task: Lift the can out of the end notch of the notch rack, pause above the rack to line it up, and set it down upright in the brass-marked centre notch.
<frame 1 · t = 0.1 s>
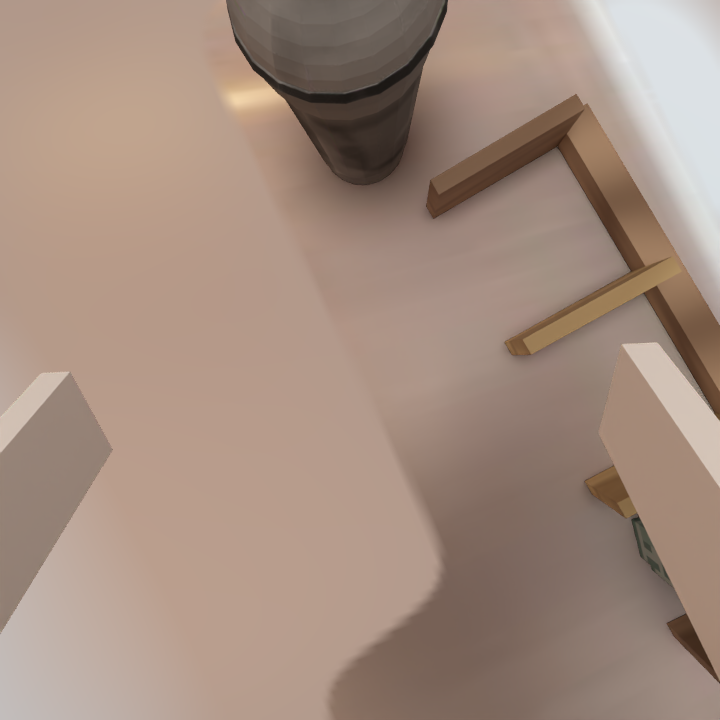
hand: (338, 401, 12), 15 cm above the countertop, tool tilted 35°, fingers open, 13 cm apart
beverage cup: (363, 145, 28), on the countertop
notch rack: (611, 383, 26), on the countertop
can: (692, 524, 26), on the countertop
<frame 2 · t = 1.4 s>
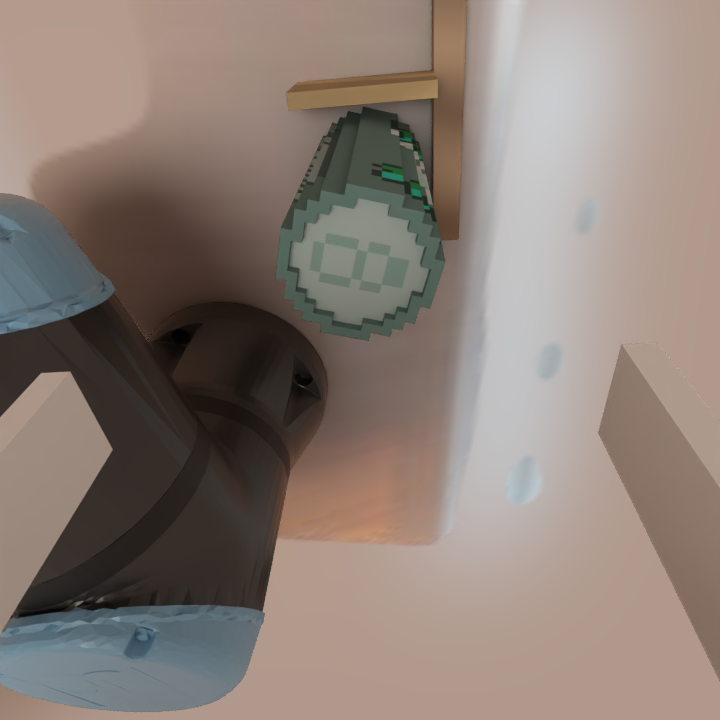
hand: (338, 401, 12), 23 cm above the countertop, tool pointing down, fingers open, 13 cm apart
can: (369, 162, 31), on the countertop
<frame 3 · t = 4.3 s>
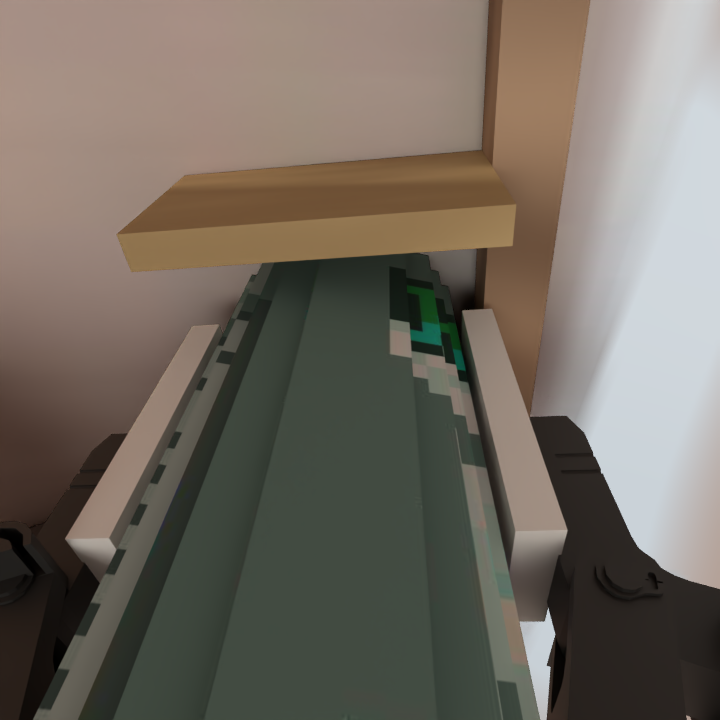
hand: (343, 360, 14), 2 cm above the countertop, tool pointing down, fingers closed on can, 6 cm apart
can: (348, 319, 15), on the countertop, touching gripper
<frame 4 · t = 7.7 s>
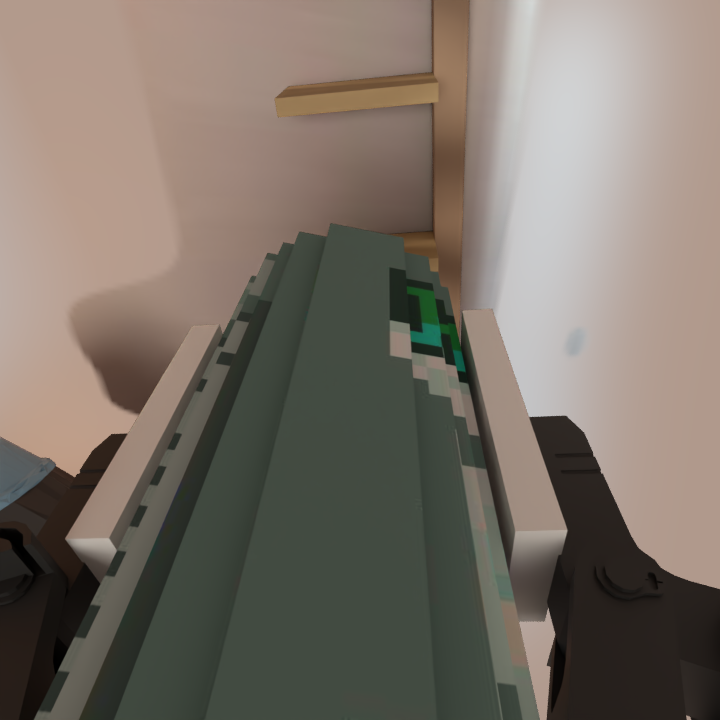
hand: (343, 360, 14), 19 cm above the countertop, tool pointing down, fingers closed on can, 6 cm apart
notch rack: (366, 171, 29), on the countertop
can: (348, 319, 15), point 17 cm above the countertop, touching gripper
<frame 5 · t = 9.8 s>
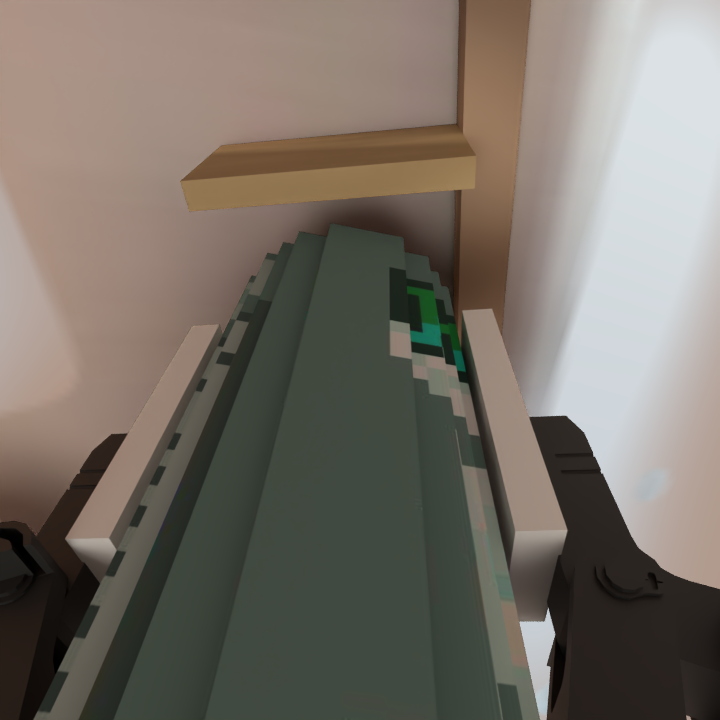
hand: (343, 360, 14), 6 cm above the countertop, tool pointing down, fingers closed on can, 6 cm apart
notch rack: (351, 269, 19), on the countertop
can: (348, 319, 15), point 4 cm above the countertop, touching gripper
when the fingers open (3 cm above the countertop, at t = 11.3 s): can stays where it is, on the countertop.
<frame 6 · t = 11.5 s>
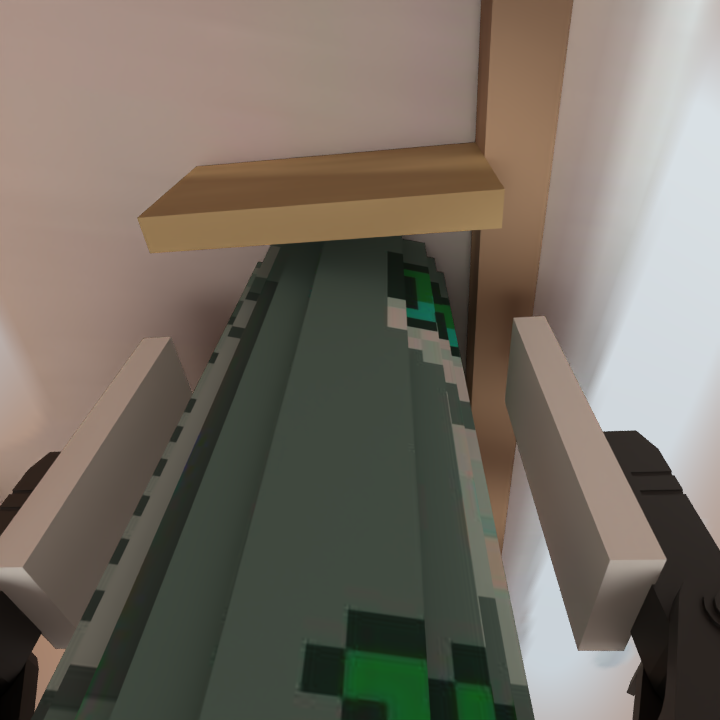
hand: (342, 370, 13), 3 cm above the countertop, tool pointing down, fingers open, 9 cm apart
notch rack: (350, 306, 16), on the countertop
can: (349, 304, 16), on the countertop
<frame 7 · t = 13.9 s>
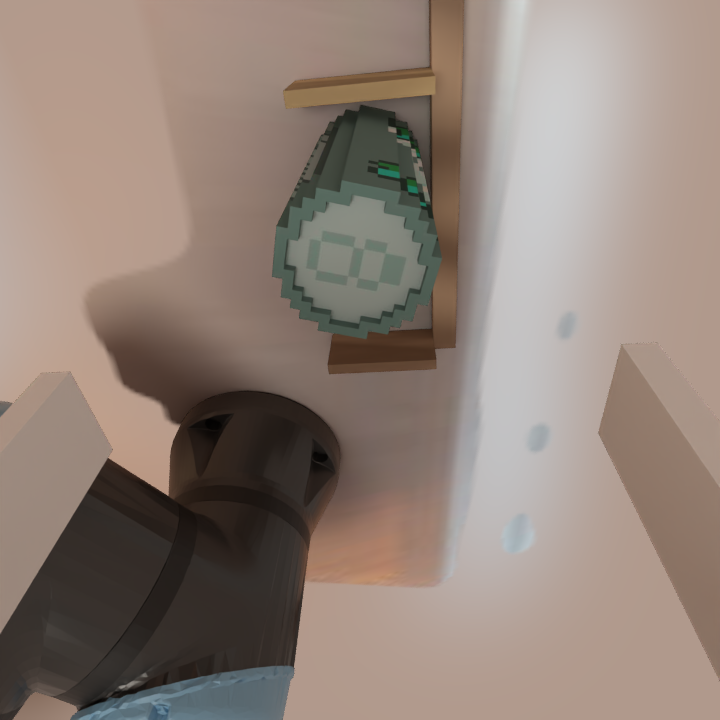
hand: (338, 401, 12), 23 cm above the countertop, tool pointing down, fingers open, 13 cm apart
notch rack: (368, 161, 30), on the countertop
can: (367, 161, 31), on the countertop
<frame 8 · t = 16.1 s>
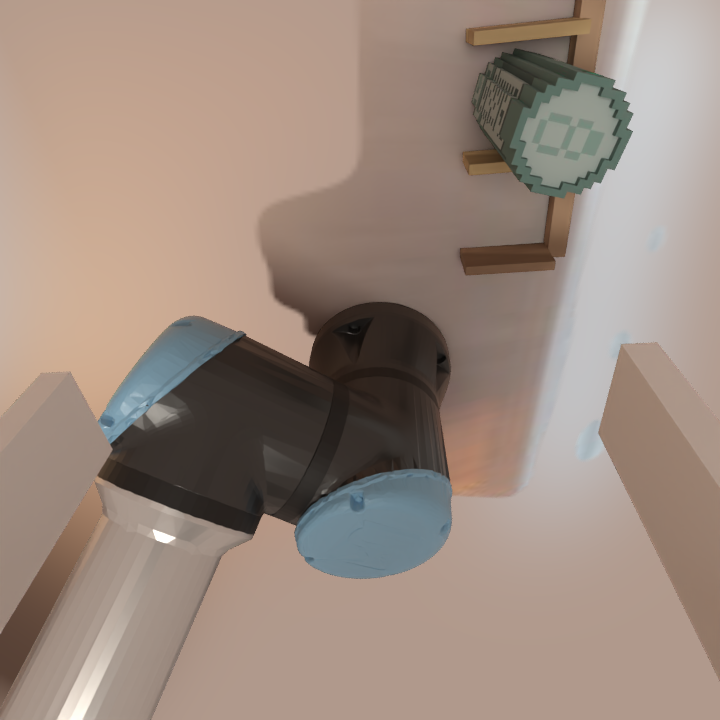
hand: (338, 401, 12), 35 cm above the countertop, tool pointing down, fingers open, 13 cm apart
notch rack: (513, 95, 39), on the countertop
can: (512, 95, 39), on the countertop
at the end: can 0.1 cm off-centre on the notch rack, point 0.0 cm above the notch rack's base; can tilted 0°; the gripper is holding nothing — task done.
